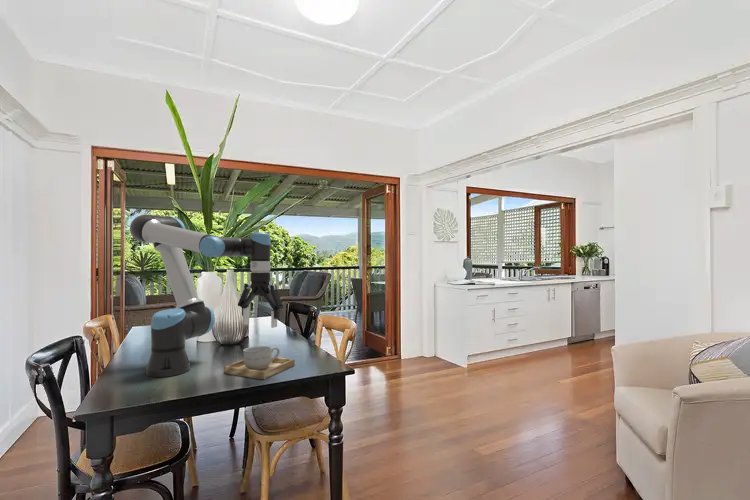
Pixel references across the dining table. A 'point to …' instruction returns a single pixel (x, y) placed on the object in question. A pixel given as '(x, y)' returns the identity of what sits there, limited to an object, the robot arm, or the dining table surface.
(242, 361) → the serving tray
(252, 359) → the teacup
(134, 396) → the dining table surface
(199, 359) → the dining table surface
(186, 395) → the dining table surface
